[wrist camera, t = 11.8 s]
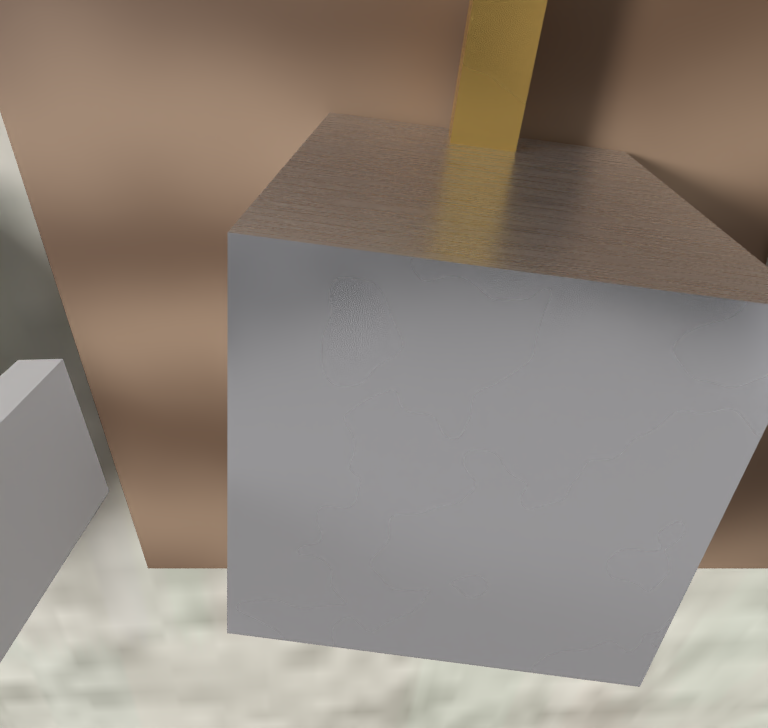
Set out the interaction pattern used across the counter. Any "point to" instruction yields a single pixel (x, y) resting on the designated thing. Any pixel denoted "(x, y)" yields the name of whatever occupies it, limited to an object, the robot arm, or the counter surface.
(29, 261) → the counter surface
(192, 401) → the board
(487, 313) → the grey block with bar
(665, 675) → the counter surface
